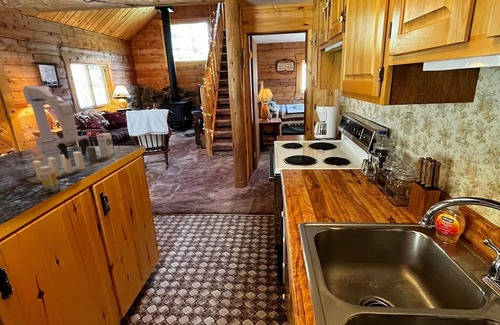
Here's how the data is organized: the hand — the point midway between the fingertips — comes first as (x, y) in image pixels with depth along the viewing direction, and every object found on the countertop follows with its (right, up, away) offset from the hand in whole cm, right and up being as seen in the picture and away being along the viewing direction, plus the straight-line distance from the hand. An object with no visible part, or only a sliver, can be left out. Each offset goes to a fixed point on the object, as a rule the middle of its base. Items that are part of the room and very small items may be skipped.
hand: (76, 156), depth 129 cm
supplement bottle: (-5, -14, -10) cm, 18 cm away
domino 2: (-13, -9, +4) cm, 16 cm away
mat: (-12, -8, +11) cm, 18 cm away
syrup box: (-4, +1, +38) cm, 38 cm away
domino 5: (-6, -3, +25) cm, 26 cm away
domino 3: (-9, -8, +9) cm, 15 cm away
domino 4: (-6, -6, +14) cm, 16 cm away
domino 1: (-16, -11, -1) cm, 19 cm away
